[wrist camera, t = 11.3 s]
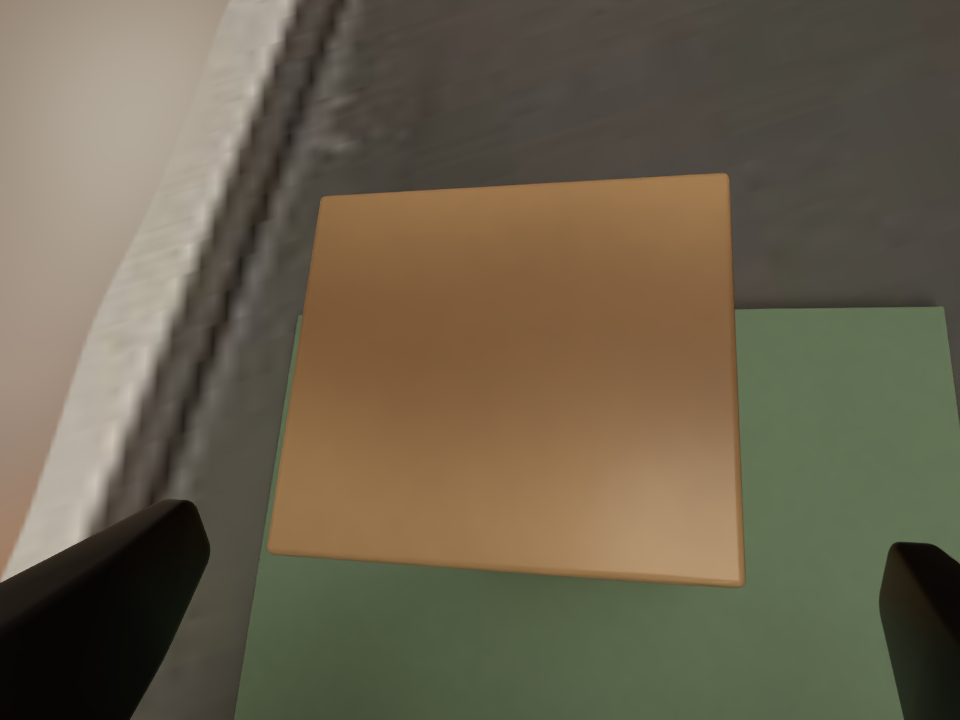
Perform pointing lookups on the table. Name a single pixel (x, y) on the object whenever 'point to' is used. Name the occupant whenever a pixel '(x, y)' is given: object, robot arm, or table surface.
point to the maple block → (520, 383)
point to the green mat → (661, 607)
